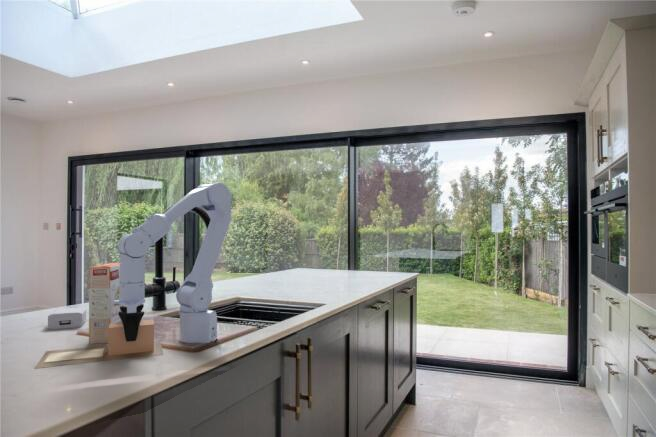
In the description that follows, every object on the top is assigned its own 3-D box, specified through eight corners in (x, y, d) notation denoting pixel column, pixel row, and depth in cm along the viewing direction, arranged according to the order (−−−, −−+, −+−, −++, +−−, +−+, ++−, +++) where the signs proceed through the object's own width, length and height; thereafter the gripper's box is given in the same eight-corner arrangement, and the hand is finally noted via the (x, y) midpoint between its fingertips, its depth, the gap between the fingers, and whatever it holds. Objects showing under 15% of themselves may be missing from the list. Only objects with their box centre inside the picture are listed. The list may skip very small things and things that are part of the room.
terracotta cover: (152, 345, 112) (153, 319, 113) (153, 350, 107) (154, 324, 107) (109, 349, 108) (109, 323, 108) (108, 355, 103) (108, 327, 103)
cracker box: (112, 345, 115) (111, 266, 115) (88, 347, 114) (86, 266, 114) (130, 332, 128) (129, 261, 129) (108, 333, 128) (107, 262, 128)
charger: (88, 317, 151) (82, 327, 137) (57, 319, 147) (47, 329, 133) (88, 304, 151) (82, 312, 137) (57, 305, 147) (47, 314, 133)
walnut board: (160, 344, 117) (160, 339, 117) (163, 358, 104) (163, 353, 104) (46, 355, 107) (46, 350, 107) (34, 373, 94) (34, 367, 94)
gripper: (115, 279, 113) (114, 332, 113) (112, 286, 100) (111, 346, 100) (144, 278, 116) (144, 329, 116) (146, 285, 103) (145, 343, 102)
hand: (131, 337), depth 108 cm, fingers open, 7 cm apart
